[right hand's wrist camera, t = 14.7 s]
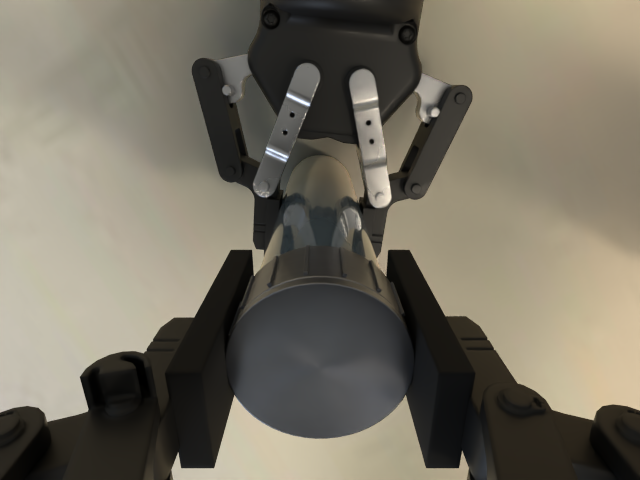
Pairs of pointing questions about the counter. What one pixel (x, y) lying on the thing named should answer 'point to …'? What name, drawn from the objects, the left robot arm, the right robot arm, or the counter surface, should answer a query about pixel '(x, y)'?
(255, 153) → the counter surface
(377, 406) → the lid
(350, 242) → the bottle
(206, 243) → the counter surface
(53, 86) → the counter surface
